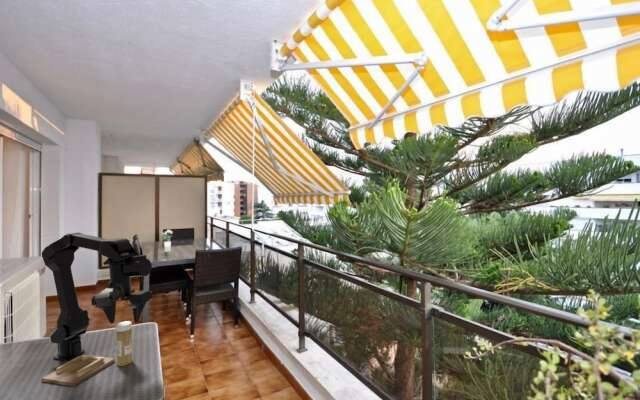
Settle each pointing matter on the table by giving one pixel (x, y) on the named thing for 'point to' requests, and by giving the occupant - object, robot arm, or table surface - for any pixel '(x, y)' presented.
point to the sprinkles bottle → (124, 343)
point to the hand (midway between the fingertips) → (124, 323)
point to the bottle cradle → (77, 370)
